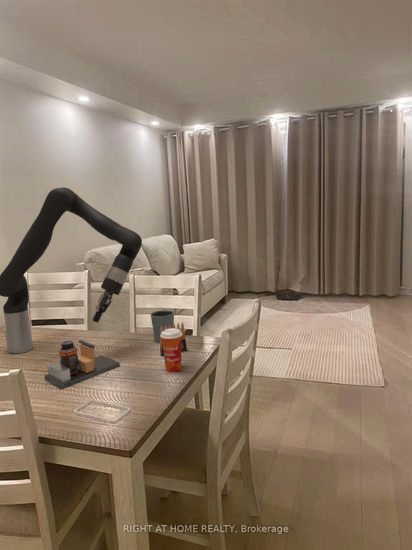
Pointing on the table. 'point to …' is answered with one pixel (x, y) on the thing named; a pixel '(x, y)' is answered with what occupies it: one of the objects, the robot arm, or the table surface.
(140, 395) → the table surface
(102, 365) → the base
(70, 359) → the supplement bottle
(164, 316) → the green embossed pot
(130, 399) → the table surface
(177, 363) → the paper cup
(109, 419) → the phone case
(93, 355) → the sliding jaw
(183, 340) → the ammunition clip
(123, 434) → the table surface
